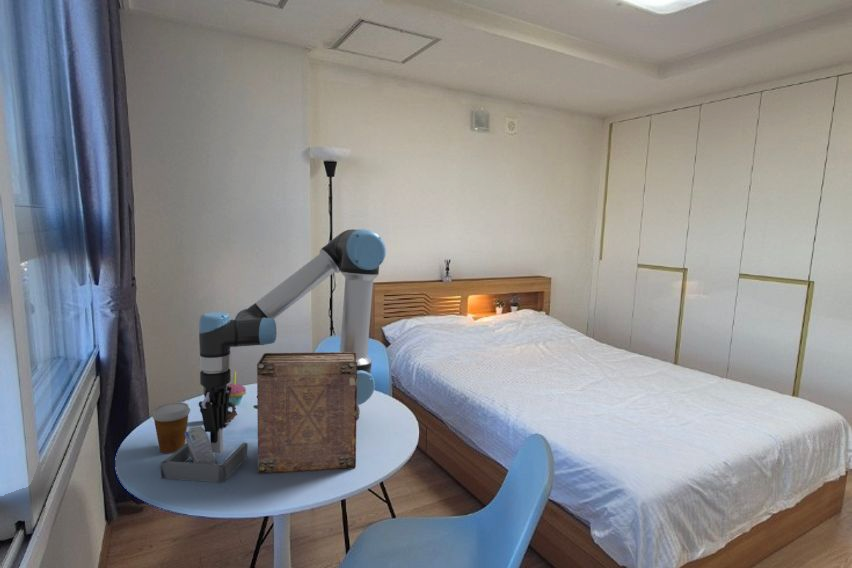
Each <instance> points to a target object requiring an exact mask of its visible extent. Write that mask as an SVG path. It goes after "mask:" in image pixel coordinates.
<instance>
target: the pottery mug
mask: <svg viewBox="0 0 852 568" xmlns="http://www.w3.org/2000/svg"><path fill="white" fill-rule="evenodd" d="M229 407H231V410H232V411H230V410H228V417H227V422H226V423H225V422H224V424H226V425H227V424H228V423H231V421H233V420H234V419H235V417H236V416H238V413H237V411H236V409H237V408H236V405H235V406H234V404H233V403H231V402H229ZM199 411H200V413H201V415H202V412H201V409H200V408H199Z"/></svg>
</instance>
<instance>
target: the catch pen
mask: <svg viewBox="0 0 852 568" xmlns="http://www.w3.org/2000/svg"><path fill="white" fill-rule="evenodd" d="M191 458H192V457H191V454H190V451H189V447H188V444H187V442H185V445H183V446H182V447H181V448H180V449H178V450H177V451H176V452H172V453H171V454H170V455H169V456H168V457H167V458H166V459H164V460H163V461H161V462H160V479H166V480H181V481H195V482H196V481H197V482H210V483H211V482H212V483H225V482H226V480H227V479H228V478H229V477H230V476H231V475H232V474H233V472H235V471H236V469H237V468H238V467H239V466H240V465H241V464H242V463H243V462H244V461H245V459H247V458H248V442H242V443H241V444H240V445H239V446H238V447H237V448H236V449H235V450H234V451H233V452H232V453H231V454H230V455H229V456H228V457H227V458H226V459H225V460H224V461H223V462H222V463H221V464H218V463H216V464H203V463H194V462H188V461H189V459H191Z"/></svg>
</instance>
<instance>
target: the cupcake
mask: <svg viewBox="0 0 852 568" xmlns="http://www.w3.org/2000/svg"><path fill="white" fill-rule="evenodd" d="M236 376H237V372H236V371H234V372H233V383H232V384H231V383H228V384H227V387H231V392H230V398H229V402H231V403H233V404H234V406H235V407H236V406H238V405H240V404H241V402H242V399H243V396H244V395H246V393H247V392H246V386H244V385H243V384H239V383H236V379H237V377H236Z"/></svg>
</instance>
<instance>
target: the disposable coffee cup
mask: <svg viewBox="0 0 852 568" xmlns="http://www.w3.org/2000/svg"><path fill="white" fill-rule="evenodd" d="M190 412H191V408H190V406H189V404H188V403H186V402H182V401H181V402H179V401H178V402H177V401H176V402H175V401H174V402H169V403H168V402H167V403H163V404H160V405H158V406H157V407H155V408H154V409H153V413H152V414H151V417H152V419H153V421H154V426H155V432H156V438H157V444H158V448H159V452H161V453H162V454H163V453H164V454H173V453H174V452H176V451H177V450H178V449H180V448H181V447H182V446H183V445H185V444H186V437H185V432H187V431H188V430H187V429H188V422H189V421H188V420H189V414H190Z"/></svg>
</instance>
